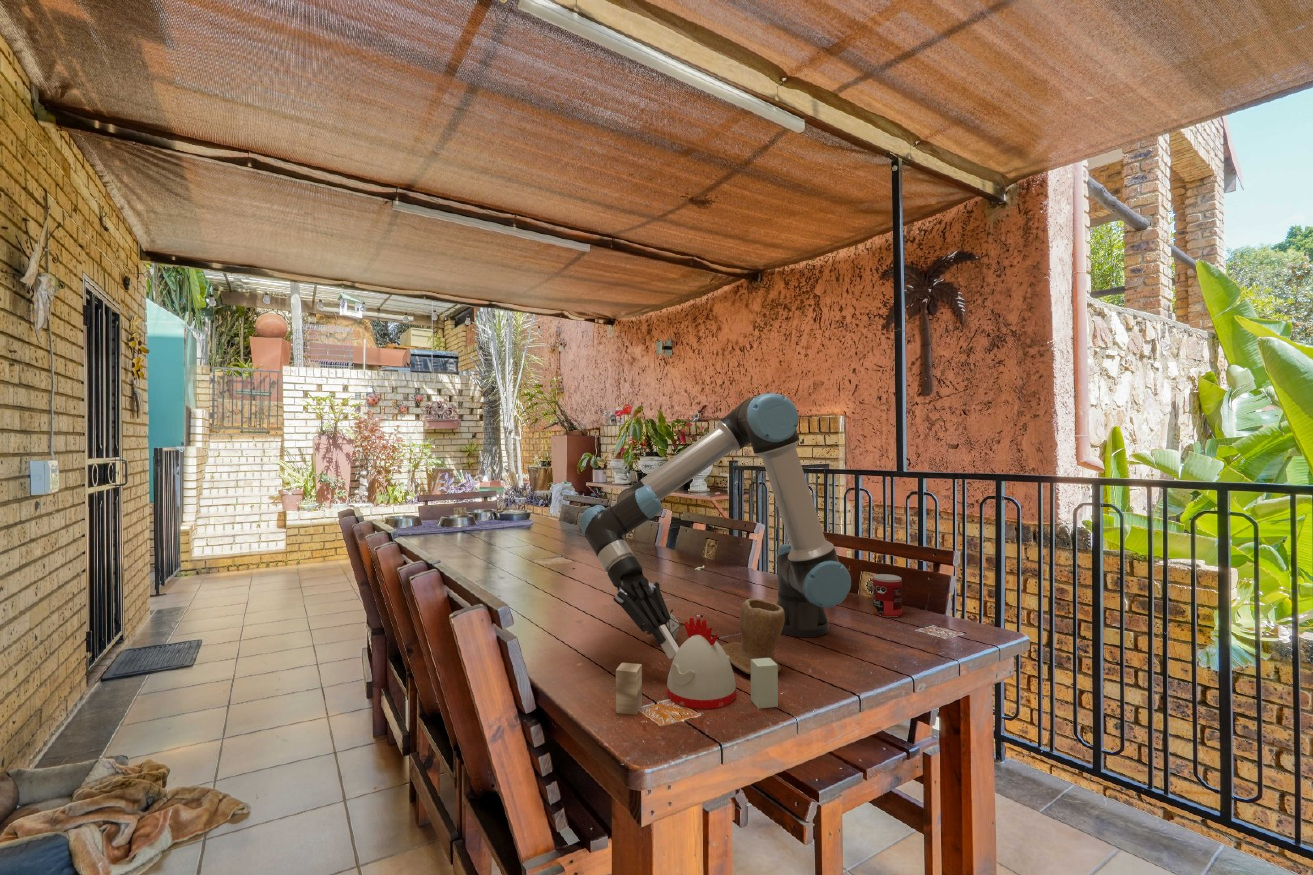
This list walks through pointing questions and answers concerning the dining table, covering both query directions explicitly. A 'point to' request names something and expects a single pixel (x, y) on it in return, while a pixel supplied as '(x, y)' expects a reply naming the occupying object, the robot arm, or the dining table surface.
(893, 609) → the canned food
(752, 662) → the sage block
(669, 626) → the game die
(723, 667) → the kitchen timer
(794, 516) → the robot arm
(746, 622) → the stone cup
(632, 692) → the birch block
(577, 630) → the dining table surface
